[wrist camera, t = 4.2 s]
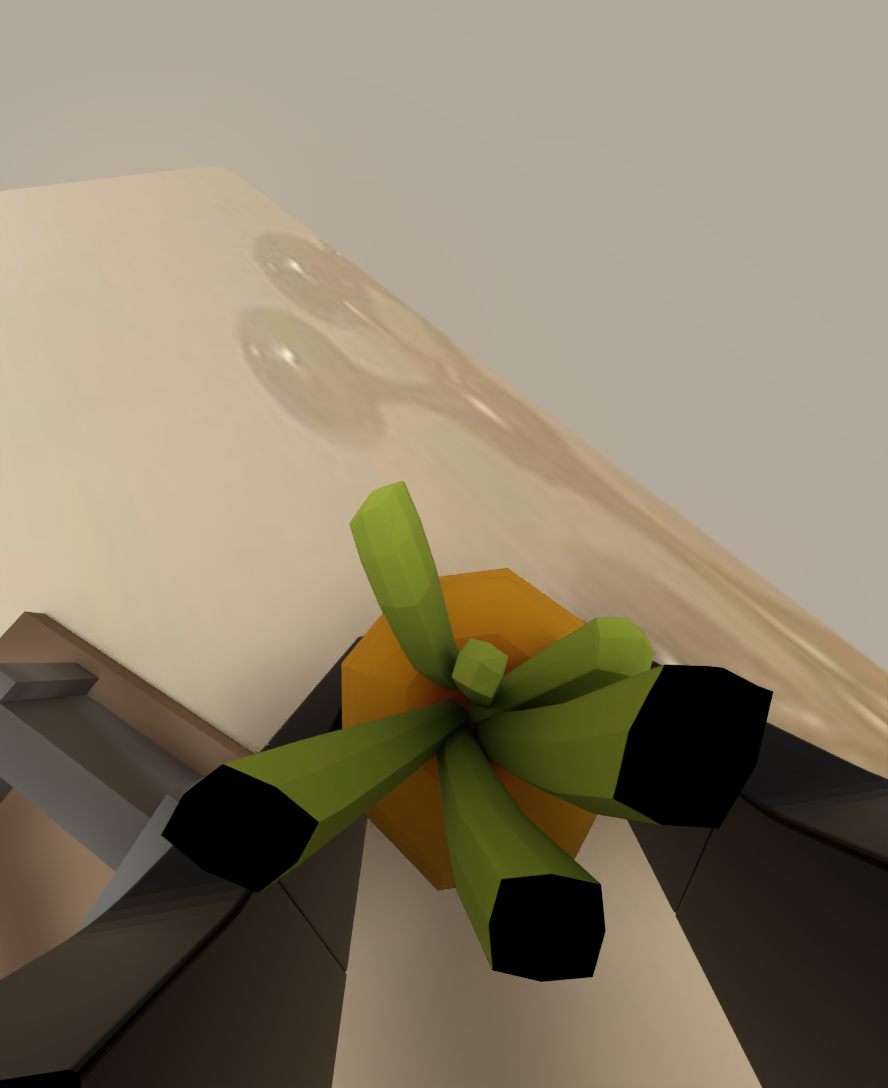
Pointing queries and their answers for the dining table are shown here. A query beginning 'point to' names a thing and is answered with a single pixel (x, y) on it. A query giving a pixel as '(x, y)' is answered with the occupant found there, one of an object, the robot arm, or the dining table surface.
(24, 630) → the grey frame on base
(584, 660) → the carrot
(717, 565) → the dining table surface
